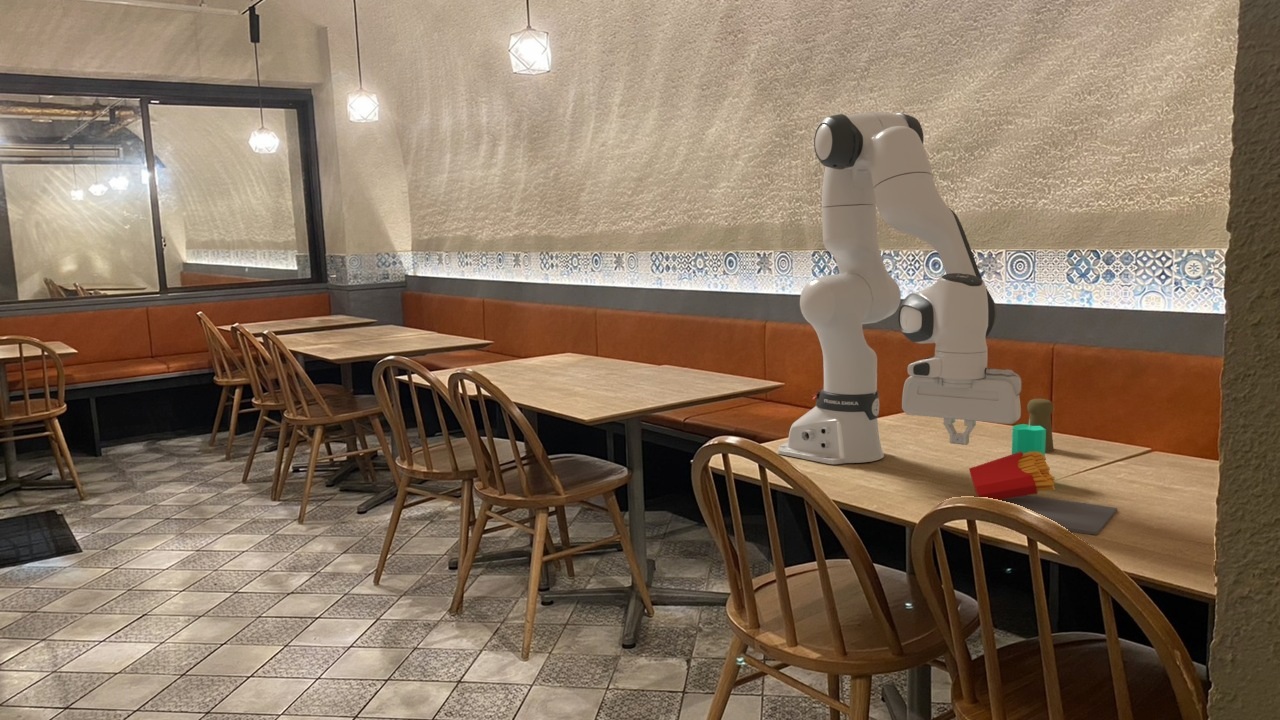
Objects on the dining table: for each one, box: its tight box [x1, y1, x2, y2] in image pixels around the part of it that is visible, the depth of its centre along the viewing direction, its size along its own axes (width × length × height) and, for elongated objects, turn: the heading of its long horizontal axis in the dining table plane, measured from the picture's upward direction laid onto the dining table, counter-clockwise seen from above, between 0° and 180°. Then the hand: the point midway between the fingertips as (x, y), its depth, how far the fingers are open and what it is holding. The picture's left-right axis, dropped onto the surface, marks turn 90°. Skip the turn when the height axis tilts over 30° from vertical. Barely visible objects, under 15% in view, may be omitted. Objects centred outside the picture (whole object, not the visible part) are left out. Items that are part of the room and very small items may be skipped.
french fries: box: [968, 451, 1056, 500], centre depth 175 cm, size 9×4×13 cm
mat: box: [1001, 495, 1118, 536], centre depth 169 cm, size 20×16×1 cm
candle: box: [1011, 418, 1046, 458], centre depth 189 cm, size 6×6×12 cm
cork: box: [1026, 398, 1054, 453], centre depth 214 cm, size 6×6×11 cm
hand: (959, 443), depth 176 cm, fingers closed
